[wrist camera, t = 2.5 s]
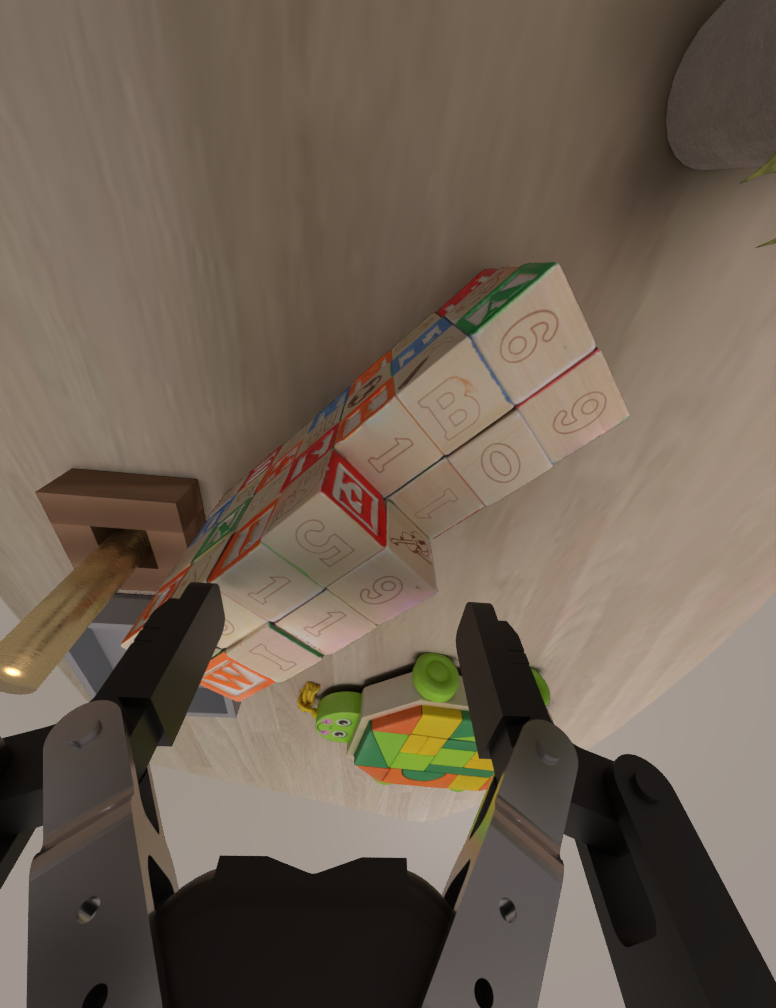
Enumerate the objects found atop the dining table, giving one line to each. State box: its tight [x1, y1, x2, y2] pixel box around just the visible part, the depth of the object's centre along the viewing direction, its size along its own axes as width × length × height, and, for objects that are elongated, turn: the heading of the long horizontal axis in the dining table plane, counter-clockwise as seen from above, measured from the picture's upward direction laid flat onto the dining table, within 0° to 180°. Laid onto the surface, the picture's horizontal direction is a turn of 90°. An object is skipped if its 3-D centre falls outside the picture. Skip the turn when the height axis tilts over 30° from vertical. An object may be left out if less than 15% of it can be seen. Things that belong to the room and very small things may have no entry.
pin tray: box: [64, 593, 241, 718], centre depth 33 cm, size 14×13×3 cm
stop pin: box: [0, 528, 152, 694], centre depth 21 cm, size 2×2×12 cm
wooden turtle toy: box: [297, 653, 554, 792], centre depth 39 cm, size 22×28×6 cm
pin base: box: [35, 469, 206, 592], centre depth 25 cm, size 8×8×3 cm
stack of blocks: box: [121, 262, 630, 702], centre depth 18 cm, size 21×6×12 cm, turn 129°
